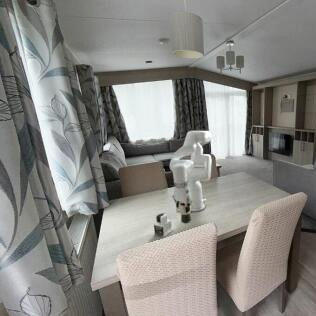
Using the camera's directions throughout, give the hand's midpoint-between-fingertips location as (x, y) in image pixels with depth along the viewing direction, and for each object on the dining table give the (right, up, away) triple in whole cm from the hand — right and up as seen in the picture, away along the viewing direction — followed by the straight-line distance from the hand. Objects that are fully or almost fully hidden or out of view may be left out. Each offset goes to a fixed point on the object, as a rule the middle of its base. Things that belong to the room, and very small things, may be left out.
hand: (183, 210), depth 122 cm
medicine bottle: (-12, -14, -1) cm, 18 cm away
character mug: (+1, -8, +4) cm, 9 cm away
